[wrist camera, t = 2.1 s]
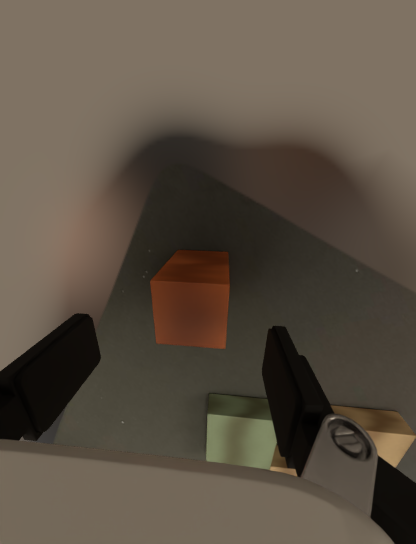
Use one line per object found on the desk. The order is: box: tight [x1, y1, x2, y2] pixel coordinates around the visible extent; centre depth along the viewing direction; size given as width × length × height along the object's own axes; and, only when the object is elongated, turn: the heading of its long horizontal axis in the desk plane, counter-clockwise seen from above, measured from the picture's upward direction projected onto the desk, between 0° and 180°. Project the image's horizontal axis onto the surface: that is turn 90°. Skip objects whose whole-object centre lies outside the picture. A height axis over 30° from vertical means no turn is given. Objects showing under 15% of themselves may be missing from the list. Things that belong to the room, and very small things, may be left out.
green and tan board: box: [206, 394, 416, 476], centre depth 24 cm, size 22×12×2 cm, turn 89°
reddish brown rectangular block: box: [150, 250, 230, 349], centre depth 15 cm, size 5×5×7 cm
